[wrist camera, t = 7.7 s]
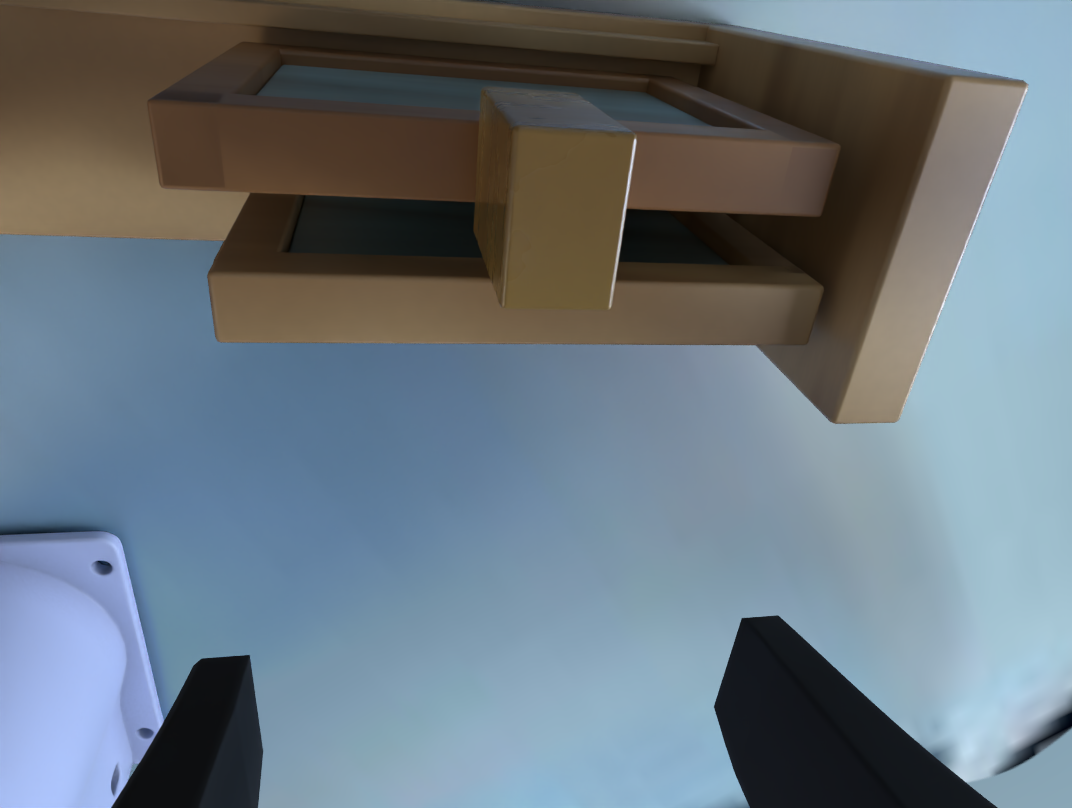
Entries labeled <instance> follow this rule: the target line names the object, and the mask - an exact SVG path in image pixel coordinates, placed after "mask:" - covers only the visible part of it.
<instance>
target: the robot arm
mask: <svg viewBox="0 0 1072 808" xmlns="http://www.w3.org/2000/svg"><path fill="white" fill-rule="evenodd" d="M99 560H100V561H106V562H108V563H110V564H111V565H102V564H100V563H99V562H98V561H99ZM714 708H715V712H716V715H717V718H718V722H719V725H720V728H721V732H722V735H723V738H724V741H725V745H726V748H727V751H728V754H729V757H730V760H731V763H732V766H733V769H734V772H735V774H736V777H737V779H738V781H739V784H740V786H741V788H742V791H743V793H744V795H745V797H746V800H747V802H748V804H749V806H750V808H997V807H996V806H995V805H993V804H992V803H991V802H990V801H988V800H987V799H986V798H984V797H983V796H982V795H981V794H979V793H978V792H977V791H976V790H974V789H973V788H972V787H970V786H969V785H968V784H967V783H966V782H965V781H963V780H962V779H961V778H960V777H958V776H957V775H956V774H955V773H954V772H952V771H951V770H950V769H949V768H947V767H946V766H945V765H944V764H943V763H941V762H940V761H939V760H938V759H936V758H935V757H934V756H933V755H932V754H931V753H929V752H928V751H927V750H926V749H925V748H923V747H922V746H921V745H920V744H919V743H918V742H916V741H915V740H914V739H913V738H912V737H911V736H910V735H908V734H907V733H906V732H905V731H904V730H903V729H902V728H900V727H899V726H898V725H897V724H896V723H895V722H894V721H892V720H891V719H890V718H889V717H888V716H887V715H886V714H885V713H884V712H882V711H881V710H880V709H879V708H878V707H877V706H876V705H875V704H874V703H872V702H871V701H870V700H869V699H868V698H867V697H866V696H865V695H864V694H863V693H861V692H860V691H859V690H858V689H857V688H856V687H855V686H854V685H853V684H852V683H851V682H850V681H848V680H847V679H846V678H845V677H844V676H843V675H842V674H841V673H840V672H839V671H838V670H837V669H836V668H834V667H833V666H832V665H831V664H830V663H829V662H828V661H827V660H826V659H825V658H824V657H823V656H822V655H821V654H819V653H818V652H817V651H816V650H815V649H814V648H813V647H812V646H811V645H810V644H809V643H808V642H807V641H806V640H804V639H803V638H802V637H801V636H800V635H799V634H798V633H797V632H796V631H795V630H794V629H793V628H791V627H790V626H789V625H788V624H787V623H786V622H785V621H784V620H783V619H781V618H780V617H779V616H766V617H752V618H742V620H741V623H740V626H739V629H738V632H737V635H736V639H735V642H734V645H733V648H732V651H731V654H730V658H729V661H728V664H727V667H726V670H725V673H724V677H723V680H722V683H721V686H720V689H719V692H718V696H717V699H716V702H715V705H714ZM262 757H263V748H262V741H261V733H260V726H259V719H258V712H257V705H256V698H255V691H254V683H253V676H252V669H251V662H250V655H244V656H231V657H217V658H204V659H201V660H199V661H198V662H197V663H196V664H195V665H194V666H193V668H192V670H191V672H190V674H189V676H188V678H187V680H186V682H185V684H184V686H183V687H182V689H181V691H180V693H179V695H178V697H177V699H176V701H175V702H174V704H173V706H172V708H171V710H170V711H169V713H168V715H167V717H166V719H165V720H163V716H162V712H161V707H160V703H159V699H158V695H157V690H156V686H155V682H154V678H153V673H152V669H151V665H150V661H149V656H148V652H147V648H146V644H145V639H144V635H143V631H142V627H141V623H140V618H139V614H138V610H137V606H136V601H135V597H134V593H133V589H132V584H131V580H130V576H129V572H128V567H127V563H126V559H125V555H124V550H123V546H122V543H121V541H120V539H119V538H117V537H116V536H115V535H113V534H111V533H108V532H103V531H88V532H64V533H40V534H16V535H0V808H258V800H259V790H260V779H261V768H262ZM138 763H139V764H138ZM132 764H138V766H137V768H136V769H135V771H134V772H133V774H132V775H131V777H130V779H129V780H128V777H129V774H130V771H131V768H132ZM127 781H128V782H127Z"/></svg>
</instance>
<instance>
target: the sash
mask: <svg viewBox="0 0 1072 808" xmlns="http://www.w3.org/2000/svg"><path fill="white" fill-rule="evenodd" d="M147 108H148V114H149V121H150V127H151V134H152V140H153V147H154V153H155V159H156V166H157V172H158V179H159V184H160V186H161V187H162V188H164V189H178V190H201V191H224V192H247V193H270V194H293V195H317V196H340V197H363V198H386V199H409V200H432V201H455V202H475V211H474V230H473V231H474V234H475V237H476V239H477V242H478V245H479V248H480V251H481V253H482V256H483V259H484V262H485V265H486V268H487V270H488V273H489V276H490V279H491V282H492V285H493V287H494V290H495V293H496V296H497V299H498V302H499V304H500V307H502V308H504V309H543V310H609V309H610V308H611V306H612V302H613V295H614V289H615V282H616V276H617V269H618V263H619V256H620V249H621V243H622V236H623V230H624V223H625V217H626V210H627V209H640V210H663V211H686V212H709V213H732V214H756V215H779V216H802V217H820V216H821V215H822V213H823V210H824V206H825V202H826V199H827V195H828V192H829V188H830V185H831V181H832V178H833V174H834V171H835V167H836V164H837V160H838V157H839V153H840V150H841V146H840V145H839V144H838V143H835V142H833V141H830V140H828V139H825V138H823V137H820V136H818V135H815V134H813V133H810V132H807V131H805V130H802V129H800V128H798V127H795V126H793V125H790V124H788V123H785V122H783V121H780V120H778V119H775V118H773V117H770V116H768V115H765V114H763V113H760V112H758V111H755V110H753V109H751V108H748V107H746V106H743V105H741V104H738V103H736V102H733V101H731V100H728V99H726V98H723V97H721V96H718V95H716V94H713V93H711V92H708V91H706V90H704V89H701V88H699V87H696V86H694V85H691V84H689V83H686V82H684V81H681V80H679V79H676V78H674V77H671V76H660V75H647V74H634V73H621V72H609V71H597V70H585V69H572V68H560V67H548V66H536V65H523V64H511V63H499V62H487V61H474V60H462V59H450V58H438V57H425V56H413V55H401V54H389V53H376V52H364V51H352V50H340V49H327V48H315V47H303V46H291V45H280V44H268V43H256V42H244V41H243V42H240V43H239V44H237V45H235V46H234V47H232V48H231V49H229V50H227V51H226V52H224V53H223V54H221V55H219V56H218V57H216V58H214V59H213V60H211V61H210V62H208V63H206V64H205V65H203V66H202V67H200V68H198V69H197V70H195V71H194V72H192V73H190V74H189V75H187V76H186V77H184V78H182V79H181V80H179V81H178V82H176V83H174V84H173V85H171V86H170V87H168V88H166V89H165V90H163V91H161V92H160V93H158V94H156V95H155V96H153V97H152V98H150V99H148V101H147Z"/></svg>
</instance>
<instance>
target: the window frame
mask: <svg viewBox="0 0 1072 808" xmlns="http://www.w3.org/2000/svg"><path fill="white" fill-rule="evenodd" d="M243 41H244V42H256V43H268V44H280V45H291V46H303V47H315V48H327V49H340V50H352V51H364V52H376V53H389V54H401V55H413V56H425V57H438V58H450V59H462V60H474V61H487V62H499V63H511V64H523V65H536V66H548V67H560V68H572V69H585V70H597V71H609V72H621V73H634V74H647V75H660V76H671V77H674V78H676V79H679V80H681V81H684V82H686V83H689V84H691V85H694V86H696V87H699V88H701V89H704V90H706V91H708V92H711V93H713V94H716V95H718V96H721V97H723V98H726V99H728V100H731V101H733V102H736V103H738V104H741V105H743V106H746V107H748V108H751V109H753V110H755V111H758V112H760V113H763V114H765V115H768V116H770V117H773V118H775V119H778V120H780V121H783V122H785V123H788V124H790V125H793V126H795V127H798V128H800V129H802V130H805V131H807V132H810V133H813V134H815V135H818V136H820V137H823V138H825V139H828V140H830V141H833V142H835V143H838V144H839V145H840V146H841V150H840V153H839V157H838V160H837V164H836V167H835V171H834V174H833V178H832V181H831V185H830V188H829V192H828V195H827V199H826V202H825V206H824V210H823V213H822V215H821V216H820V217H802V216H779V215H756V214H732V213H709V212H686V211H663V210H640V209H627V210H626V217H625V223H624V230H623V236H622V243H621V249H620V256H619V263H618V269H617V276H616V282H615V289H614V295H613V302H612V306H611V308H610V309H609V310H543V309H504V308H502V307H500V304H499V302H498V299H497V296H496V293H495V290H494V287H493V285H492V282H491V279H490V276H489V273H488V270H487V268H486V265H485V262H484V259H483V256H482V253H481V251H480V248H479V245H478V242H477V239H476V237H475V234H474V231H473V230H474V211H475V202H455V201H432V200H409V199H386V198H363V197H340V196H317V195H293V194H270V193H247V192H224V191H201V190H178V189H164V188H162V187H161V186H160V184H159V179H158V172H157V166H156V159H155V153H154V147H153V140H152V134H151V127H150V121H149V114H148V108H147V101H148V99H150V98H152V97H153V96H155V95H156V94H158V93H160V92H161V91H163V90H165V89H166V88H168V87H170V86H171V85H173V84H174V83H176V82H178V81H179V80H181V79H182V78H184V77H186V76H187V75H189V74H190V73H192V72H194V71H195V70H197V69H198V68H200V67H202V66H203V65H205V64H206V63H208V62H210V61H211V60H213V59H214V58H216V57H218V56H219V55H221V54H223V53H224V52H226V51H227V50H229V49H231V48H232V47H234V46H235V45H237V44H239V43H240V42H243ZM1027 90H1028V84H1027V83H1026V82H1024V81H1023V80H1018V79H1013V78H1008V77H1002V76H997V75H992V74H987V73H981V72H976V71H971V70H966V69H960V68H955V67H950V66H945V65H939V64H934V63H929V62H924V61H918V60H913V59H908V58H903V57H897V56H892V55H887V54H882V53H876V52H871V51H866V50H861V49H855V48H850V47H845V46H840V45H834V44H829V43H824V42H818V41H813V40H808V39H803V38H797V37H792V36H787V35H782V34H776V33H771V32H766V31H761V30H756V29H751V28H745V27H740V26H733V25H723V24H713V23H703V22H692V21H682V20H672V19H662V18H651V17H641V16H631V15H621V14H611V13H600V12H590V11H580V10H570V9H560V8H549V7H539V6H529V5H519V4H508V3H498V2H488V1H478V0H0V234H13V235H46V236H78V237H111V238H143V239H176V240H208V241H224V243H223V244H222V246H221V248H220V250H219V252H218V254H217V256H216V257H215V259H214V262H213V265H212V267H211V268H210V270H209V272H208V275H207V278H208V285H209V293H210V300H211V308H212V315H213V323H214V331H215V337H216V339H217V341H218V342H238V343H434V344H631V345H756V346H757V347H758V348H759V349H760V350H761V351H762V352H763V353H764V354H765V355H766V356H767V357H768V358H769V359H770V361H771V362H772V363H773V364H774V365H775V366H776V367H777V368H778V369H779V370H780V371H781V372H782V373H783V374H784V375H785V376H786V377H787V378H788V379H789V380H790V381H791V382H792V383H793V384H794V385H795V386H796V387H797V388H798V389H799V390H800V391H801V392H802V393H803V394H804V395H805V396H806V397H807V398H808V399H809V400H810V401H811V402H812V404H813V405H814V406H815V407H816V408H817V409H818V410H819V411H820V412H821V413H822V414H823V415H824V416H825V417H826V418H827V419H828V420H829V421H830V422H832V423H835V424H848V423H895V422H897V421H898V420H899V419H900V416H901V414H902V411H903V409H904V406H905V404H906V401H907V398H908V396H909V393H910V391H911V388H912V386H913V383H914V380H915V378H916V375H917V373H918V370H919V368H920V365H921V362H922V360H923V357H924V355H925V352H926V350H927V347H928V345H929V342H930V339H931V337H932V334H933V332H934V329H935V327H936V324H937V321H938V319H939V316H940V314H941V311H942V309H943V306H944V303H945V301H946V298H947V296H948V293H949V291H950V288H951V285H952V283H953V280H954V278H955V275H956V273H957V270H958V267H959V265H960V262H961V260H962V257H963V255H964V252H965V250H966V247H967V244H968V242H969V239H970V237H971V234H972V232H973V229H974V226H975V224H976V221H977V219H978V216H979V214H980V211H981V208H982V206H983V203H984V201H985V198H986V196H987V193H988V190H989V188H990V185H991V183H992V180H993V178H994V175H995V172H996V170H997V167H998V165H999V162H1000V160H1001V157H1002V155H1003V152H1004V149H1005V147H1006V144H1007V142H1008V139H1009V137H1010V134H1011V131H1012V129H1013V126H1014V124H1015V121H1016V119H1017V116H1018V113H1019V111H1020V108H1021V106H1022V103H1023V101H1024V98H1025V95H1026V93H1027Z"/></svg>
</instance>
